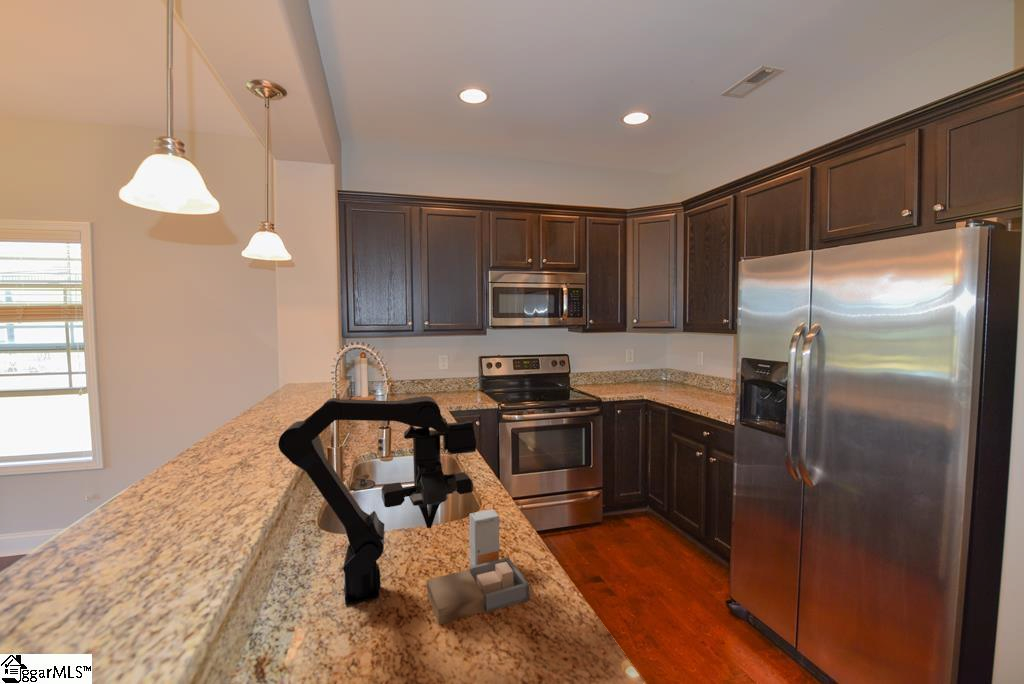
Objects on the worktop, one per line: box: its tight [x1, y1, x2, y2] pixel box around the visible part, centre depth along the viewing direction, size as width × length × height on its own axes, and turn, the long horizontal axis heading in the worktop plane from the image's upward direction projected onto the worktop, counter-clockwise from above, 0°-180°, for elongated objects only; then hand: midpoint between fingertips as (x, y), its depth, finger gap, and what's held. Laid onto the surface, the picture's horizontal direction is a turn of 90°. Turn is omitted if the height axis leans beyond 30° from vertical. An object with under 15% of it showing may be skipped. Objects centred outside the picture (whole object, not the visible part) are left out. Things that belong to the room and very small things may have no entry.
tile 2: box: [495, 562, 514, 590], centre depth 91 cm, size 4×4×2 cm
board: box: [426, 568, 485, 626], centre depth 87 cm, size 9×10×3 cm
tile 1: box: [477, 571, 501, 598], centre depth 90 cm, size 4×4×2 cm
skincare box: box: [468, 508, 500, 566], centre depth 99 cm, size 6×4×12 cm
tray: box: [468, 557, 530, 613], centre depth 90 cm, size 9×11×3 cm
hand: (428, 527), depth 93 cm, fingers closed
